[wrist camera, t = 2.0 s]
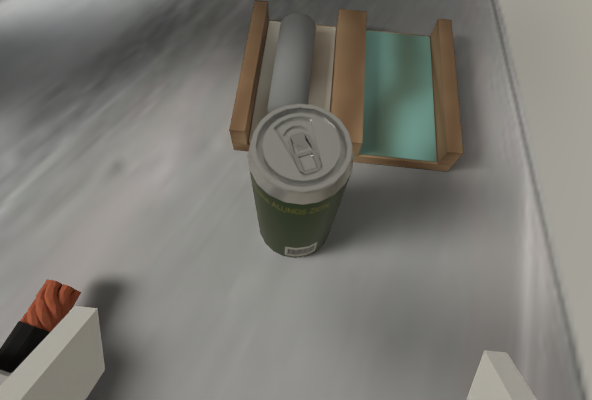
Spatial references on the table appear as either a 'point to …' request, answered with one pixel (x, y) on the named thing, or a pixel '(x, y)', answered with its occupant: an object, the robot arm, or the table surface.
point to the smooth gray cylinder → (293, 62)
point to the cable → (36, 324)
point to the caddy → (365, 89)
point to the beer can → (298, 176)
